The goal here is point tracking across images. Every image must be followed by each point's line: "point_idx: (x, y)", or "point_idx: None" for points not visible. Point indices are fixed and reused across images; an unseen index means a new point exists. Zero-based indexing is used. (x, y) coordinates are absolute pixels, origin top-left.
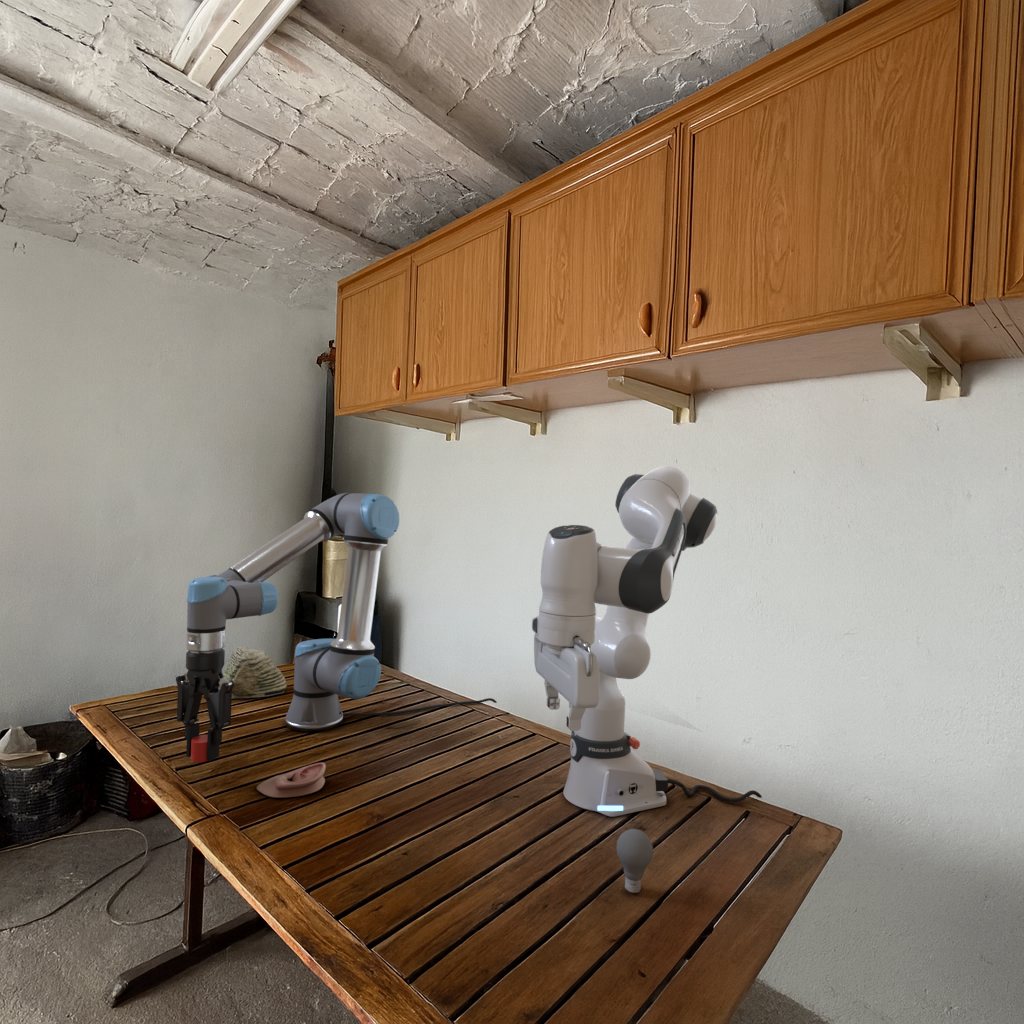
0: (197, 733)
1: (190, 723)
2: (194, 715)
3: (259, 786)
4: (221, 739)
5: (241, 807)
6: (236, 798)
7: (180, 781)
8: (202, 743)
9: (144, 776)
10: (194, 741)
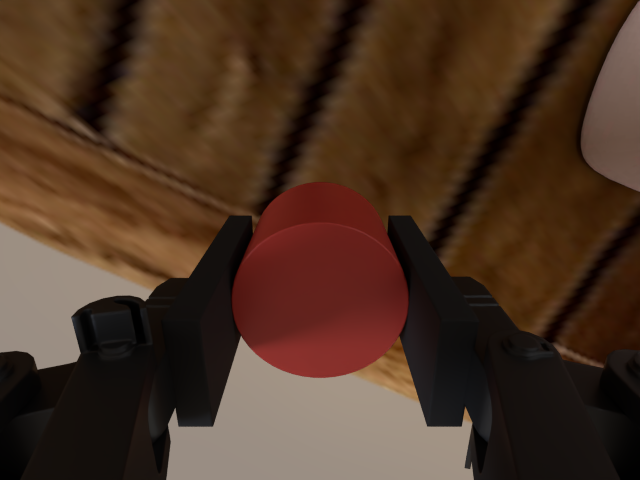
0: (225, 292)
1: (168, 411)
2: (150, 454)
3: (609, 162)
4: (487, 293)
5: (591, 293)
6: (535, 247)
7: (216, 214)
8: (369, 358)
9: (42, 234)
10: (301, 367)
